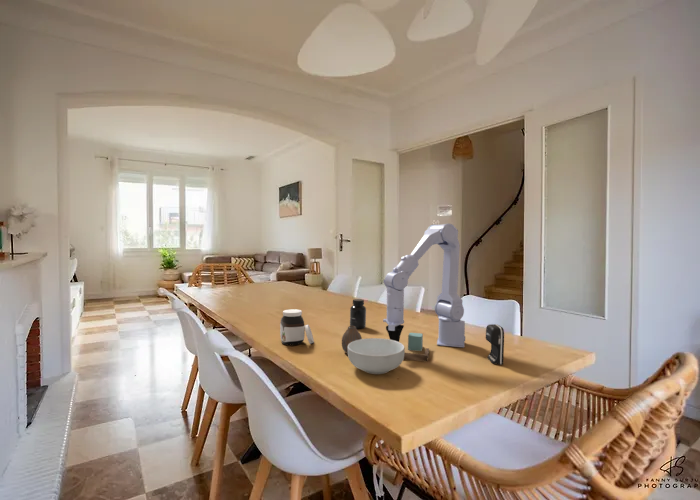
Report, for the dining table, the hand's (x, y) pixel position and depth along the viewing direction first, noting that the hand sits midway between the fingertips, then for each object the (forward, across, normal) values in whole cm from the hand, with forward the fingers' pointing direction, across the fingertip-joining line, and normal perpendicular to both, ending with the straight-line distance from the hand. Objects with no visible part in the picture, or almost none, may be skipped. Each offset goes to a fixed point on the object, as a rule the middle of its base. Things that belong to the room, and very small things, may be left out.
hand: (394, 346), depth 123 cm
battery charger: (+2, +1, +32) cm, 32 cm away
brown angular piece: (+1, +4, +3) cm, 5 cm away
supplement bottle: (+2, -28, -20) cm, 35 cm away
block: (+2, -5, +6) cm, 8 cm away
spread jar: (+2, +1, -36) cm, 36 cm away
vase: (+2, +6, -14) cm, 15 cm away
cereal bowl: (+2, +19, -2) cm, 19 cm away
